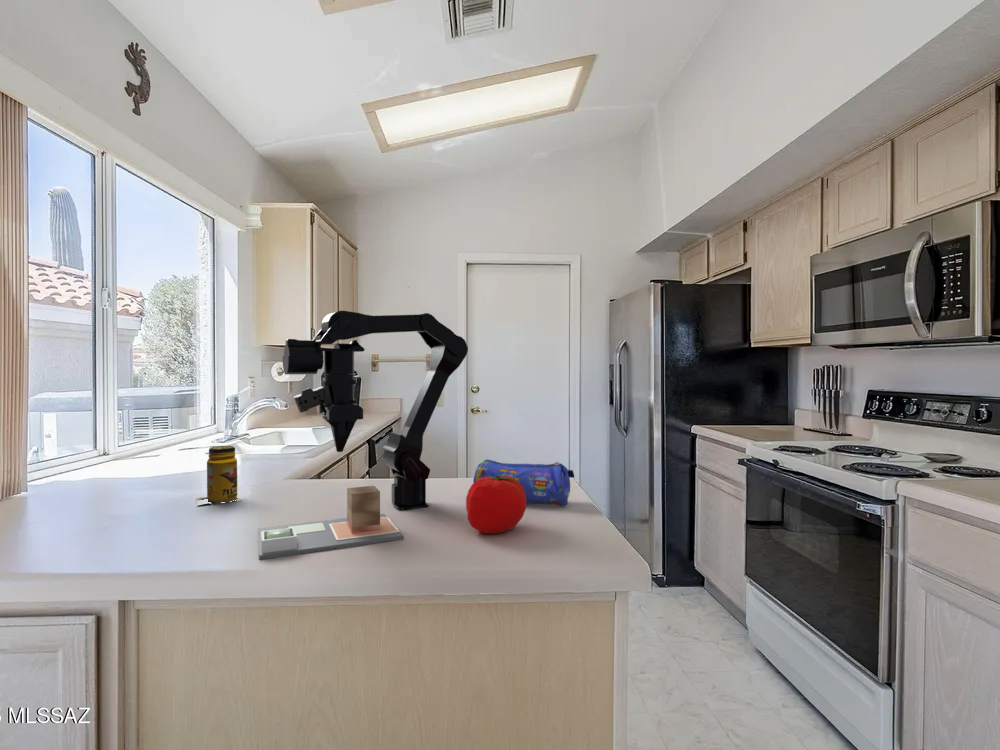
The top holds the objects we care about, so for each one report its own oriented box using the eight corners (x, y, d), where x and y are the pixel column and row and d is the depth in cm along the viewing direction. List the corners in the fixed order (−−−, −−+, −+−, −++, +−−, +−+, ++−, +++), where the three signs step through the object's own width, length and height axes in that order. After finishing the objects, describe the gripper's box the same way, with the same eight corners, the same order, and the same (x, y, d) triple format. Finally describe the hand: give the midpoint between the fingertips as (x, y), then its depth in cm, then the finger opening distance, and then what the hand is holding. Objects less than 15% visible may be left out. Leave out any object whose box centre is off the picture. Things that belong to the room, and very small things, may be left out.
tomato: (450, 531, 96) (450, 476, 96) (495, 516, 106) (495, 466, 106) (496, 545, 89) (497, 485, 89) (540, 527, 99) (540, 473, 99)
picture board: (383, 516, 106) (383, 503, 106) (403, 538, 92) (403, 524, 92) (258, 531, 96) (258, 517, 96) (259, 559, 83) (258, 542, 83)
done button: (289, 539, 89) (289, 527, 89) (291, 546, 86) (291, 533, 86) (266, 542, 88) (266, 530, 88) (267, 549, 85) (267, 536, 85)
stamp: (374, 522, 100) (374, 485, 100) (380, 529, 95) (380, 491, 95) (347, 525, 98) (347, 488, 97) (351, 533, 93) (351, 494, 93)
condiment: (241, 501, 117) (240, 447, 117) (197, 507, 113) (196, 451, 112) (236, 494, 123) (236, 443, 123) (195, 499, 119) (194, 446, 119)
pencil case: (574, 501, 119) (574, 459, 118) (568, 511, 110) (569, 466, 110) (481, 494, 125) (481, 454, 124) (469, 503, 116) (469, 460, 116)
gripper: (293, 373, 111) (293, 447, 111) (300, 375, 94) (300, 462, 94) (347, 373, 115) (347, 444, 116) (363, 375, 98) (363, 458, 99)
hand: (339, 451), depth 106 cm, fingers closed
